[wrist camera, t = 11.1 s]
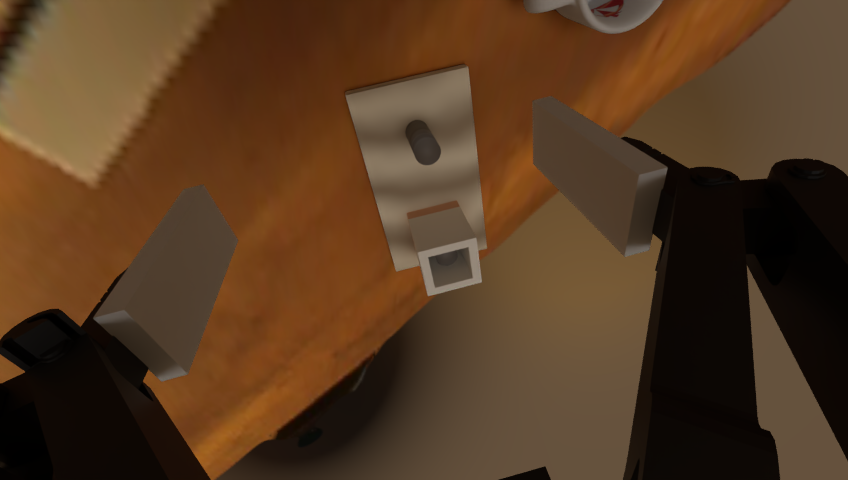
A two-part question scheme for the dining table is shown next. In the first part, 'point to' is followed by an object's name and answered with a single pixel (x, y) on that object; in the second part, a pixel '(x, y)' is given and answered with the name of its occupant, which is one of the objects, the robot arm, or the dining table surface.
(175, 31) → the dining table surface
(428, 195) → the pin board
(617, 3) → the cup
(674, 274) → the robot arm
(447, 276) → the sleeve
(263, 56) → the dining table surface
